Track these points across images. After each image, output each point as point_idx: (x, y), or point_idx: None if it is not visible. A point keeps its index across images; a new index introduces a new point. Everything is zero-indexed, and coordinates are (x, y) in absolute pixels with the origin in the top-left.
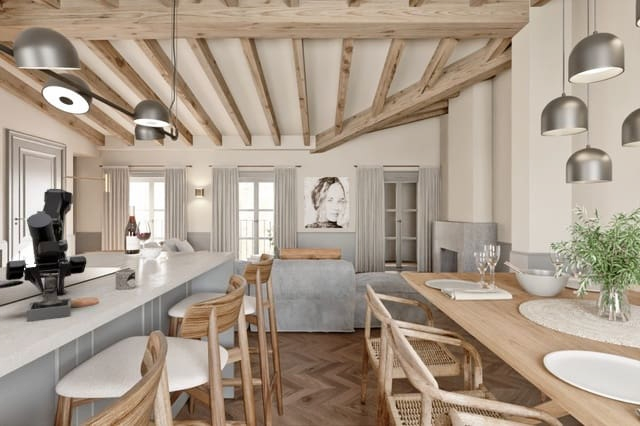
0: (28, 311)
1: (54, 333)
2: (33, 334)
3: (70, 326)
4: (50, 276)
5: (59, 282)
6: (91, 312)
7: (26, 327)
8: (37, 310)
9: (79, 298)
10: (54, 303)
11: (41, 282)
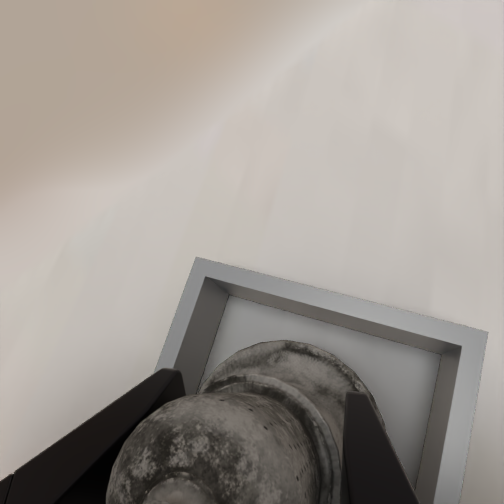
0: (473, 328)
1: (368, 10)
2: (453, 44)
3: (284, 74)
4: (189, 474)
5: (122, 423)
6: (110, 277)
7: (475, 197)
8: (406, 313)
9: None
10: (270, 347)
11: (362, 493)
